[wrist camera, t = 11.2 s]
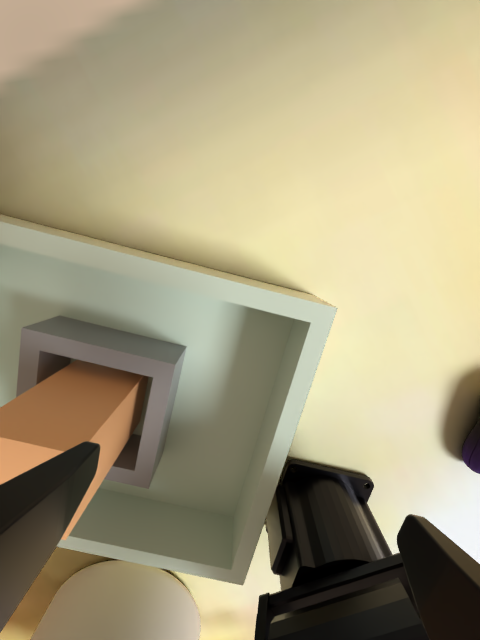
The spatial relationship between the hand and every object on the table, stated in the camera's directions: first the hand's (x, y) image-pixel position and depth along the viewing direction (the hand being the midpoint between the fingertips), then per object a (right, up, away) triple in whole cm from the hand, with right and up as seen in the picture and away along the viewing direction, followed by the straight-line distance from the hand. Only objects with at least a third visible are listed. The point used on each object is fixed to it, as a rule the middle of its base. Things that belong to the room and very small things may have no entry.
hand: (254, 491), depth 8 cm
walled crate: (-9, +1, +11) cm, 14 cm away
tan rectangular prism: (-9, 0, +10) cm, 13 cm away
